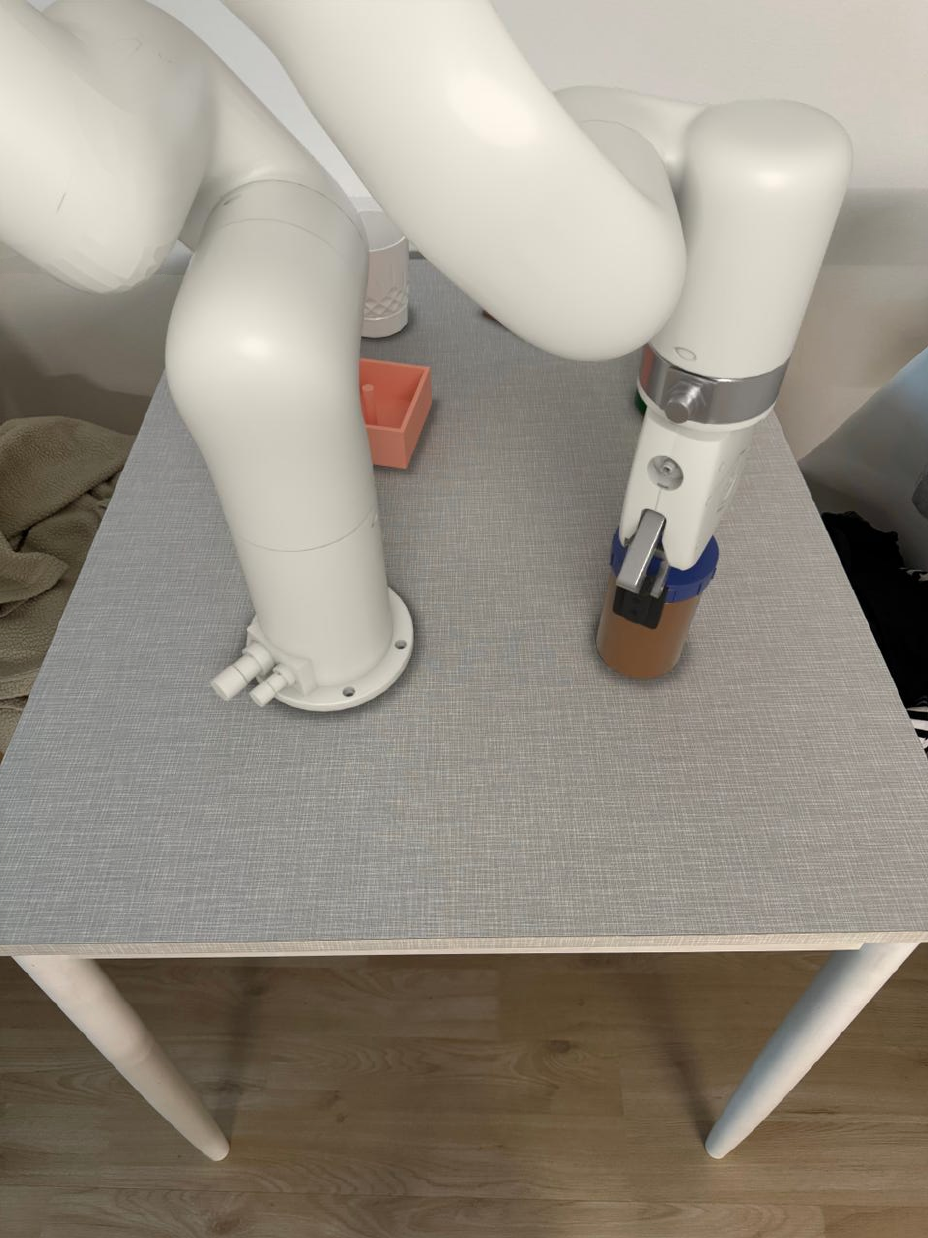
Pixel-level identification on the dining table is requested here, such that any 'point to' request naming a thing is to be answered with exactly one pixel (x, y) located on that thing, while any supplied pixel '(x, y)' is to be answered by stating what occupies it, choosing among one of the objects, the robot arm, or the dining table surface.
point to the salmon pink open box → (393, 408)
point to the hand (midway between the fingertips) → (657, 579)
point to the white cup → (385, 276)
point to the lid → (675, 570)
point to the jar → (643, 637)
